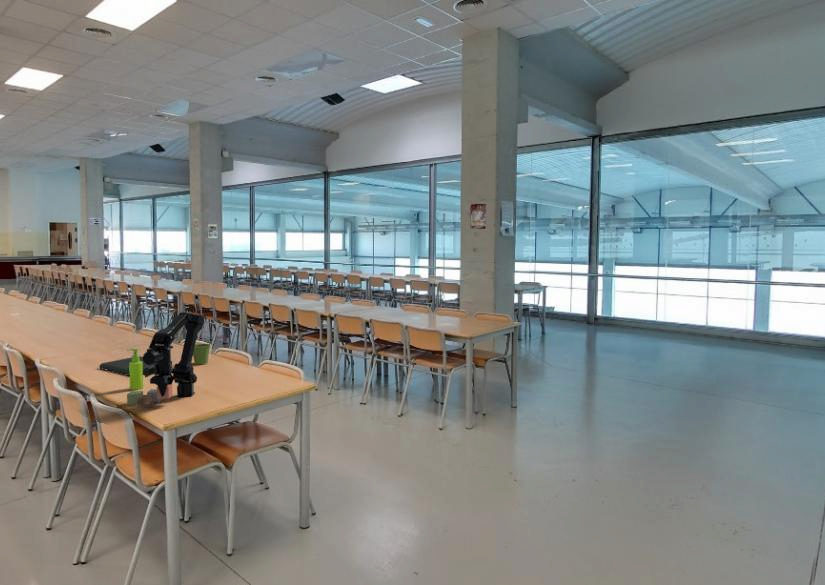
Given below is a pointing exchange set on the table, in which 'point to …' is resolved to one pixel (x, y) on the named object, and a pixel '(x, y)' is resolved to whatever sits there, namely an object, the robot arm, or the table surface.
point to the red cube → (167, 393)
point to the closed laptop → (122, 365)
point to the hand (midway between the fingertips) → (164, 394)
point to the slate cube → (154, 395)
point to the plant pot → (201, 353)
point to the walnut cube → (144, 401)
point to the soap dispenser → (136, 371)
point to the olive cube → (133, 397)
